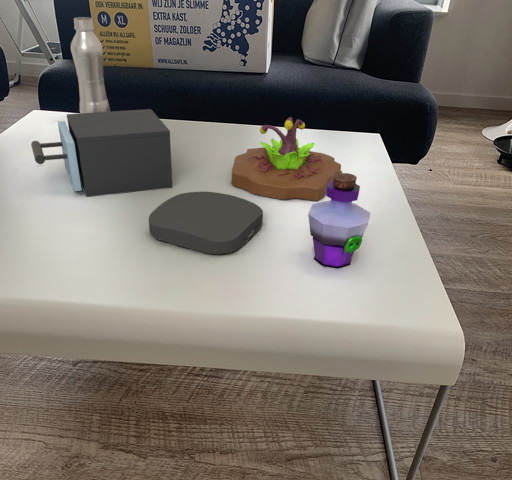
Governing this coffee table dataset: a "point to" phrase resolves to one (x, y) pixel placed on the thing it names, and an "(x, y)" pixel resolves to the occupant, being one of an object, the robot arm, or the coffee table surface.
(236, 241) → the media streaming box
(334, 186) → the potion bottle
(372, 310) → the coffee table surface
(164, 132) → the cabinet
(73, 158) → the drawer
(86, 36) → the plastic bottle
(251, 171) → the plant
